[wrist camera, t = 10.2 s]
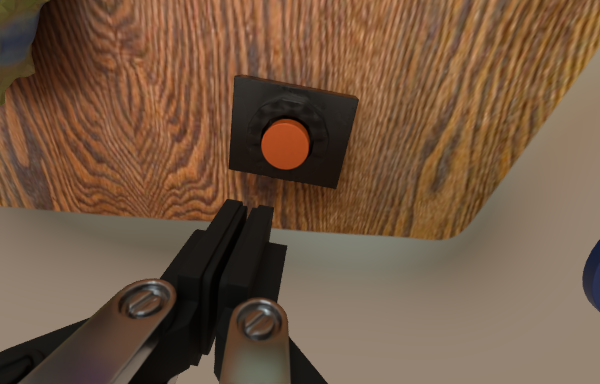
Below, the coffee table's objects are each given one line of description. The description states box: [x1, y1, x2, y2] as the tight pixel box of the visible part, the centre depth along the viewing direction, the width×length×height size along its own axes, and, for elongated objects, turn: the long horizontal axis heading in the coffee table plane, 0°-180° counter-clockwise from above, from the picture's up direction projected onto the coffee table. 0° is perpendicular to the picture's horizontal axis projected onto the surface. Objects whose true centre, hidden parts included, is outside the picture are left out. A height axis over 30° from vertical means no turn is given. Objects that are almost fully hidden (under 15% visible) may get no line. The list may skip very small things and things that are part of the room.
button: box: [261, 119, 310, 169], centre depth 22 cm, size 4×4×2 cm
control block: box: [229, 75, 359, 189], centre depth 24 cm, size 10×8×4 cm
